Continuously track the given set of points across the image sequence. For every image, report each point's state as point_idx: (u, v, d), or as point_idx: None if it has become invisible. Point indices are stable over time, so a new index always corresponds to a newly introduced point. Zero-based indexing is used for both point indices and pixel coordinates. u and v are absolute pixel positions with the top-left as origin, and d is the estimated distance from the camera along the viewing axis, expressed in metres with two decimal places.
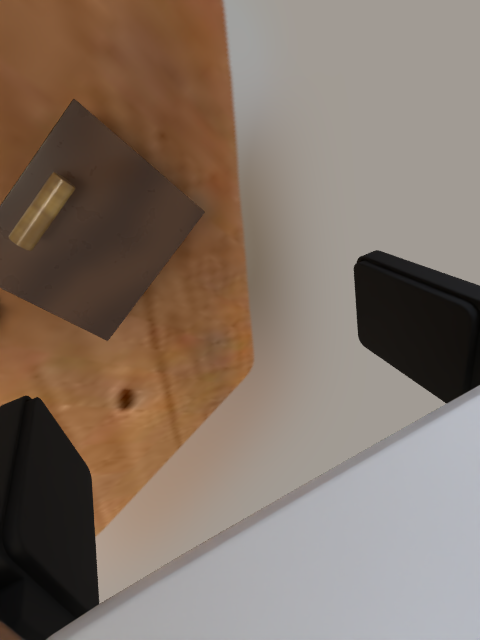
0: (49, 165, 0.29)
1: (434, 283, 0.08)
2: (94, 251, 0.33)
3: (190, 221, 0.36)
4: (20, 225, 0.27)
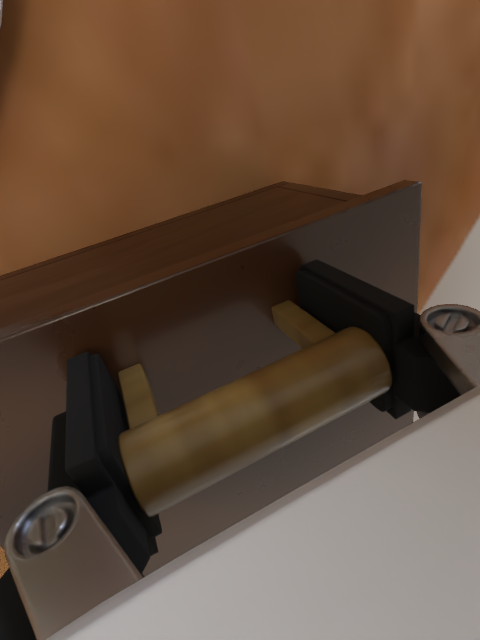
0: (286, 270, 0.11)
1: (356, 293, 0.09)
2: None
3: None
4: (193, 443, 0.07)
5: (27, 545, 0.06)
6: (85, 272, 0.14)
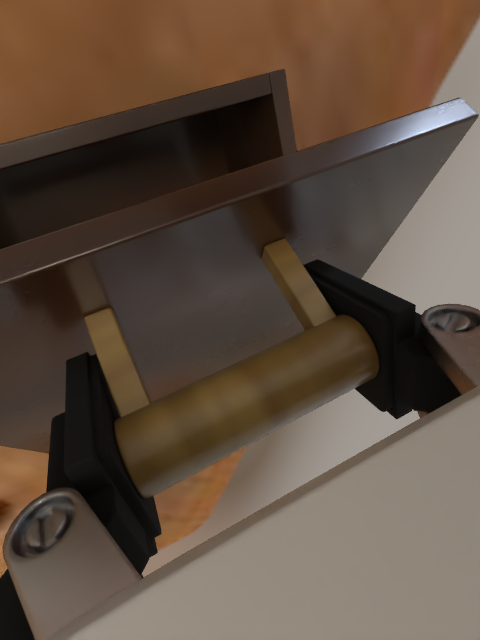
0: (295, 212, 0.09)
1: (357, 292, 0.09)
2: (175, 357, 0.14)
3: None
4: (197, 453, 0.07)
5: (26, 546, 0.05)
6: None
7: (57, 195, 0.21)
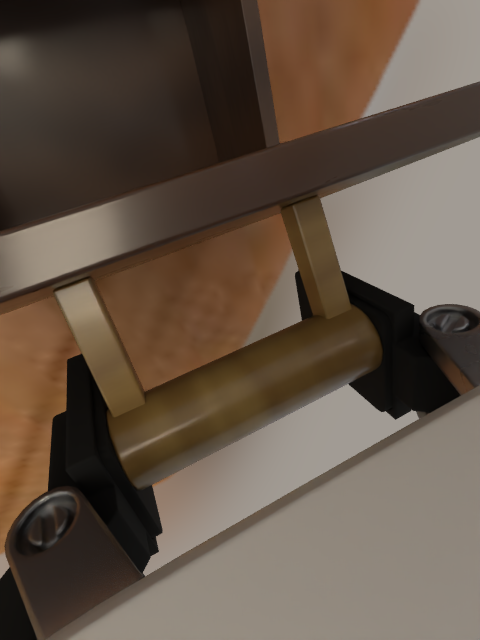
0: (349, 182, 0.07)
1: (356, 293, 0.09)
2: (137, 263, 0.12)
3: (273, 215, 0.19)
4: (199, 457, 0.07)
5: (27, 544, 0.06)
6: None
7: None
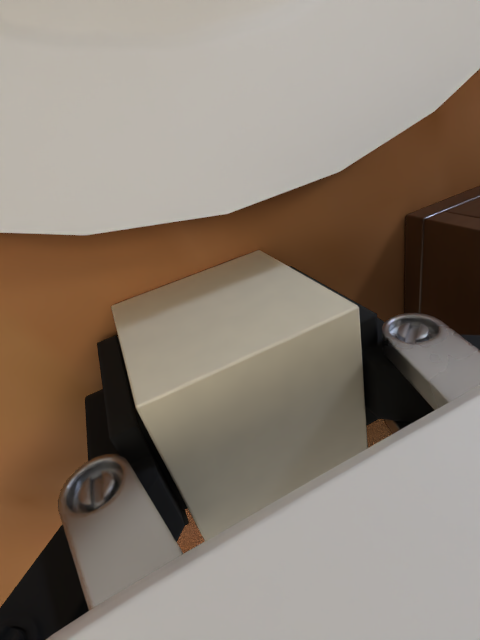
0: None
1: None
2: None
3: None
4: None
5: (78, 506, 0.06)
6: None
7: None
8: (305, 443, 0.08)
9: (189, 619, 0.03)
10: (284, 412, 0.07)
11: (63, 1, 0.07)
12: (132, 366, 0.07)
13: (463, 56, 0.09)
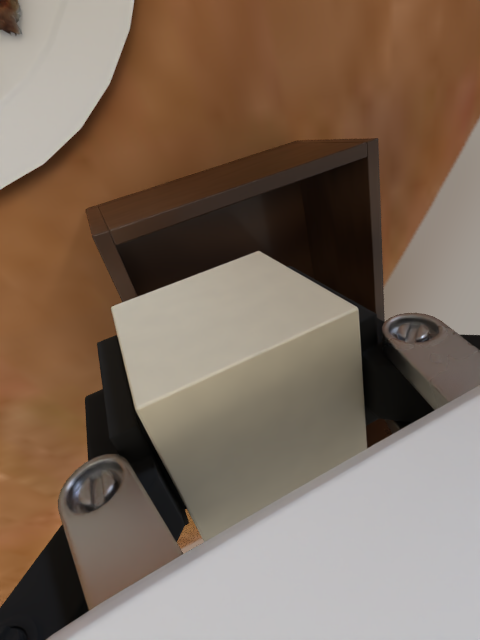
0: None
1: None
2: None
3: None
4: None
5: (78, 506, 0.06)
6: (174, 190, 0.22)
7: (172, 227, 0.26)
8: (305, 444, 0.08)
9: (189, 619, 0.03)
10: (284, 414, 0.07)
11: None
12: (131, 368, 0.07)
13: (53, 140, 0.20)
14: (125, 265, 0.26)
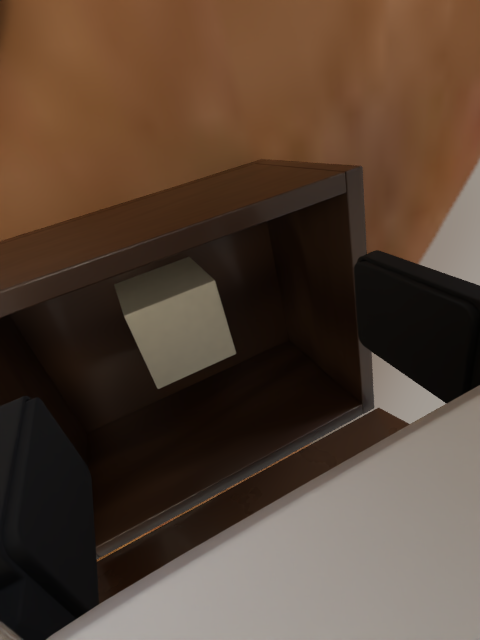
0: None
1: (434, 283, 0.08)
2: None
3: None
4: None
5: None
6: (67, 236, 0.15)
7: None
8: (199, 341, 0.18)
9: (189, 618, 0.03)
10: (187, 325, 0.18)
11: None
12: (123, 304, 0.17)
13: None
14: (21, 328, 0.19)
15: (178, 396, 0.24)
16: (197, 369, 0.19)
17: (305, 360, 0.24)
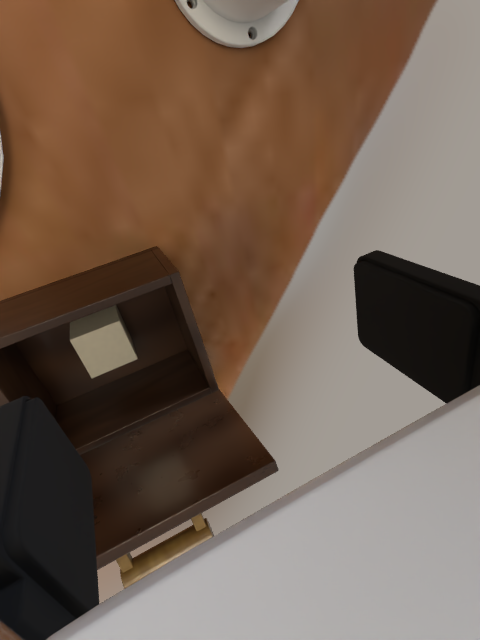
0: None
1: (434, 283, 0.08)
2: None
3: None
4: None
5: None
6: (39, 301, 0.30)
7: None
8: (114, 352, 0.34)
9: (189, 619, 0.03)
10: (105, 344, 0.33)
11: None
12: (71, 333, 0.33)
13: None
14: (17, 344, 0.34)
15: (113, 384, 0.39)
16: (114, 367, 0.34)
17: (191, 362, 0.39)
